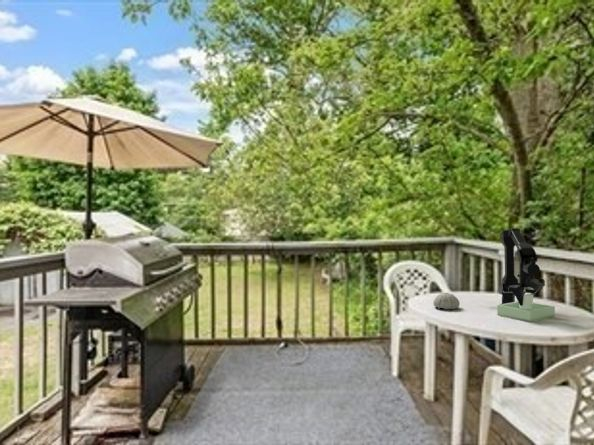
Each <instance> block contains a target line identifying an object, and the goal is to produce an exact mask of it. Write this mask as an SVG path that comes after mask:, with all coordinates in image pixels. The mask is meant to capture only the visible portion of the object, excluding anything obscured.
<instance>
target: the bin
mask: <svg viewBox="0 0 594 445" xmlns="http://www.w3.org/2000/svg"><path fill="white" fill-rule="evenodd" d="M500 304H501V305H500ZM500 304H497V309H496V310H497V313H496V315H497V316H499V317H504V318H508V319H509V318H510V319H513V320H517V321H518V320H519V321H523V322H528V323H532V322H538V321H542V320H546V319H551V318H555V316H556V310H555V309H556V307H555V306H554V305H549V304H543V303H539V302H533V304H532V309H521V308H520V307H519V302H518V300H517V301H515V302H512V303H506V304H502V303H500Z"/></svg>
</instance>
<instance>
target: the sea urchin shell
mask: <svg viewBox="0 0 594 445" xmlns="http://www.w3.org/2000/svg"><path fill="white" fill-rule="evenodd" d="M460 305H461V304H460V300H459V299H458V298H457V296H455V295H454V294H453V293H449V292H442V293H439V294H438V295H436V297H435V298H434V299H433V306H434V308H436V307H438V308H437V309H440V308H444V309H443V310H456V309H458V308H459V307H460Z"/></svg>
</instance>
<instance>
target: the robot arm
mask: <svg viewBox="0 0 594 445" xmlns="http://www.w3.org/2000/svg"><path fill="white" fill-rule="evenodd" d="M499 239H500V243H501V245H503V247H504V248H503V249H504V251H503V252H504V275H503V277H502V278H501V283H500V284H499V288H498V294H500V295H502V296H501V303H500V304H499V305H501V304H506V303H512V302H516V300H517V301H518V302H519V304H520V306H523V296H524V294H525V293H532V294H533V298H534V297H535V295H536V293H537V292H539V291H540V290H543V289H544V287H545V286H546V280H545V279H544V278H539V279H538V278H536V276H538V275H539V273H540V271H541V269H540V266H539V265H538V264H537V262H538V259H539V258H538V255H537V253H536V250H535V249H534V247H533V246H532V245H531V244H529V243H527V242H526V240H525V238H524V236H523V234H522V233H521V229H520V228H517V227H515V228H508V229H506V230H505V229H504V230H502V231H501V232H500V233H499ZM515 247H516V249H517V250H516V257H517V259H518V263H519V265H518V266H519V271H518V272H519V273H518V274H517V277H518V278H519V280H518V278H517V277H516V275H515Z"/></svg>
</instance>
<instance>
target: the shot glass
mask: <svg viewBox="0 0 594 445" xmlns="http://www.w3.org/2000/svg"><path fill="white" fill-rule="evenodd" d="M533 301H534V297H533V294H532V293H525V294H524V296H523V306H520V304H519V307H520V308H521V309H532V304H533V303H534V302H533Z"/></svg>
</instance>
